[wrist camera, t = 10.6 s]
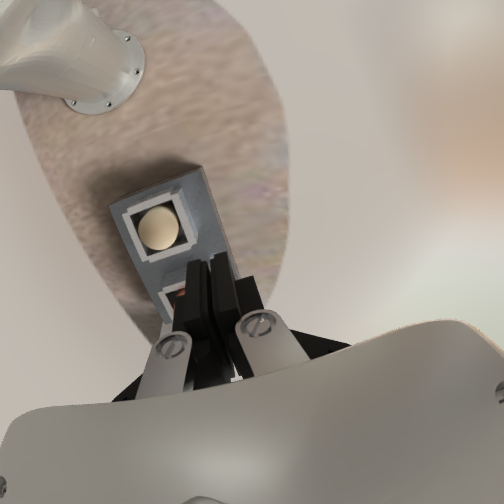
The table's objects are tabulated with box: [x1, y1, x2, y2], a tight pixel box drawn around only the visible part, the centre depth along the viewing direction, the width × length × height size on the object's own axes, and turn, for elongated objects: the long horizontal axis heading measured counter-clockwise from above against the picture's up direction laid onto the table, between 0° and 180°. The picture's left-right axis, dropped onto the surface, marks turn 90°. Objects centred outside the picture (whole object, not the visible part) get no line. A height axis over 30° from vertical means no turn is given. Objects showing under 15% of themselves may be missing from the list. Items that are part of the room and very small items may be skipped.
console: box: [108, 166, 241, 324], centre depth 35 cm, size 18×12×9 cm, turn 16°
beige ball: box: [138, 203, 181, 250], centre depth 30 cm, size 4×4×4 cm
